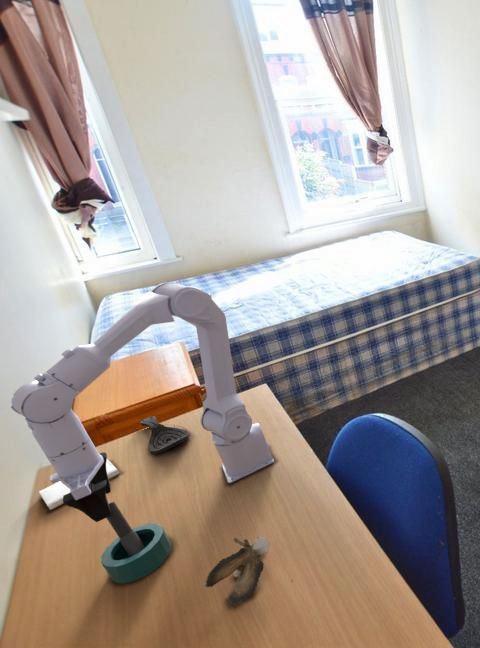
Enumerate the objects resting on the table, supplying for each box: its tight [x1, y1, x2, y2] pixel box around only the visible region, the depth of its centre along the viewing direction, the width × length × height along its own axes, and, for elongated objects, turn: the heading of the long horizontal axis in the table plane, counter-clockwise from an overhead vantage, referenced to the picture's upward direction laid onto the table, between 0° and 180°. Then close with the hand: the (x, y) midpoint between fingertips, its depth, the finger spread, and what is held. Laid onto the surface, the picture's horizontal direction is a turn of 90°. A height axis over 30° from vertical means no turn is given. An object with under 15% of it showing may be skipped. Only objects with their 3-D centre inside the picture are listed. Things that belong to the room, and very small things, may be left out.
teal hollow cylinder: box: [100, 523, 172, 584], centre depth 84 cm, size 9×9×4 cm
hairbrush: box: [139, 415, 191, 455], centre depth 120 cm, size 8×4×25 cm
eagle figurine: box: [204, 536, 271, 606], centre depth 79 cm, size 8×7×9 cm
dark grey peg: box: [106, 501, 146, 557], centre depth 85 cm, size 2×2×11 cm
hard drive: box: [38, 458, 120, 511], centre depth 106 cm, size 2×8×12 cm
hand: (103, 505), depth 84 cm, fingers open, 7 cm apart
